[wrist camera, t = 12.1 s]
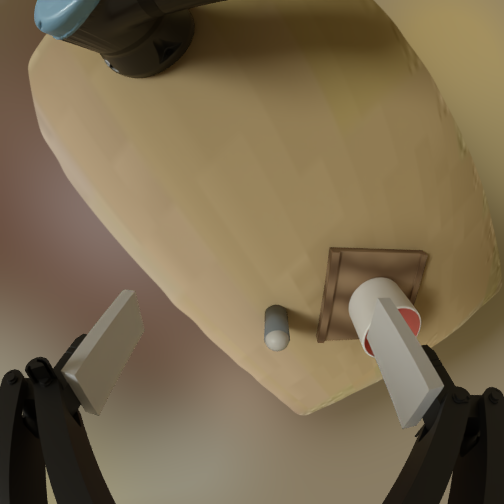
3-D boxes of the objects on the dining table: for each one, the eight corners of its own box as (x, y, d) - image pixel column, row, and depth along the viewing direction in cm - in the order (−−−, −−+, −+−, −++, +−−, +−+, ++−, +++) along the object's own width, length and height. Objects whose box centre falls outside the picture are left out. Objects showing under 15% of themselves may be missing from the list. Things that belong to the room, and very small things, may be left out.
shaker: (265, 304, 47) (264, 337, 39) (288, 305, 47) (291, 337, 39) (264, 322, 49) (263, 356, 41) (286, 323, 49) (289, 356, 41)
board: (329, 247, 43) (332, 252, 41) (422, 250, 42) (427, 255, 40) (316, 335, 50) (317, 342, 48) (398, 331, 49) (402, 337, 47)
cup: (345, 326, 47) (359, 363, 38) (347, 278, 43) (365, 312, 34) (394, 317, 46) (414, 351, 37) (400, 270, 42) (427, 301, 33)
